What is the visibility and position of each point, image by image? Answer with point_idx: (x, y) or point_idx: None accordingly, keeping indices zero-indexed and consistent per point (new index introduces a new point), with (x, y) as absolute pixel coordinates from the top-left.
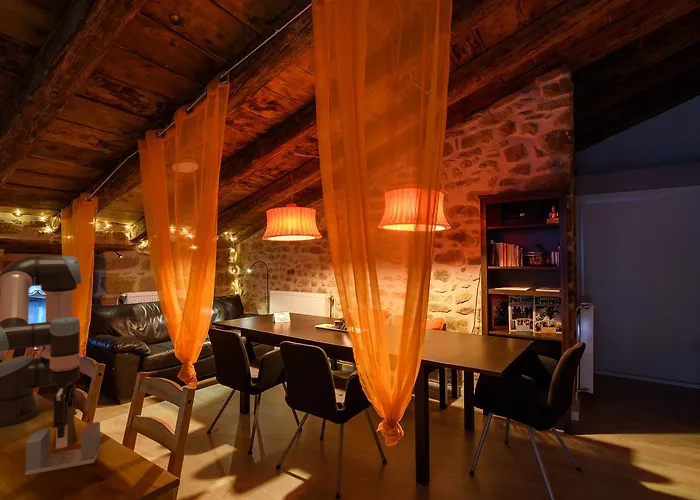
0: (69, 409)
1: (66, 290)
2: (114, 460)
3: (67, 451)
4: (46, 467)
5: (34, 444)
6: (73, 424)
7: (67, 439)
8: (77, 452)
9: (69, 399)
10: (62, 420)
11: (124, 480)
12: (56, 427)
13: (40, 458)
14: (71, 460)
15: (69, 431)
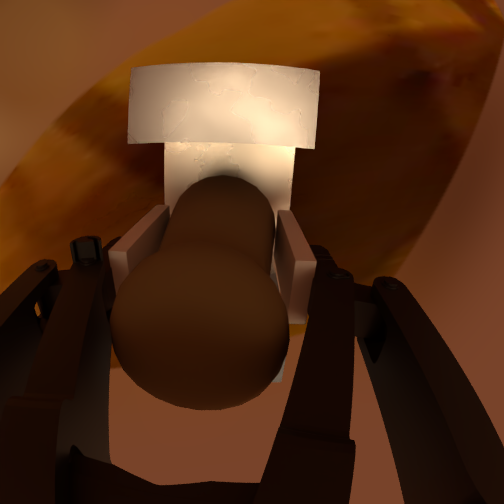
0: (244, 327)
1: None
2: (313, 30)
3: (170, 211)
4: None
5: None
6: (225, 219)
7: (283, 220)
8: (199, 169)
9: (327, 460)
10: (418, 312)
11: (453, 31)
12: (303, 318)
13: (279, 292)
14: (270, 178)
15: (261, 226)
